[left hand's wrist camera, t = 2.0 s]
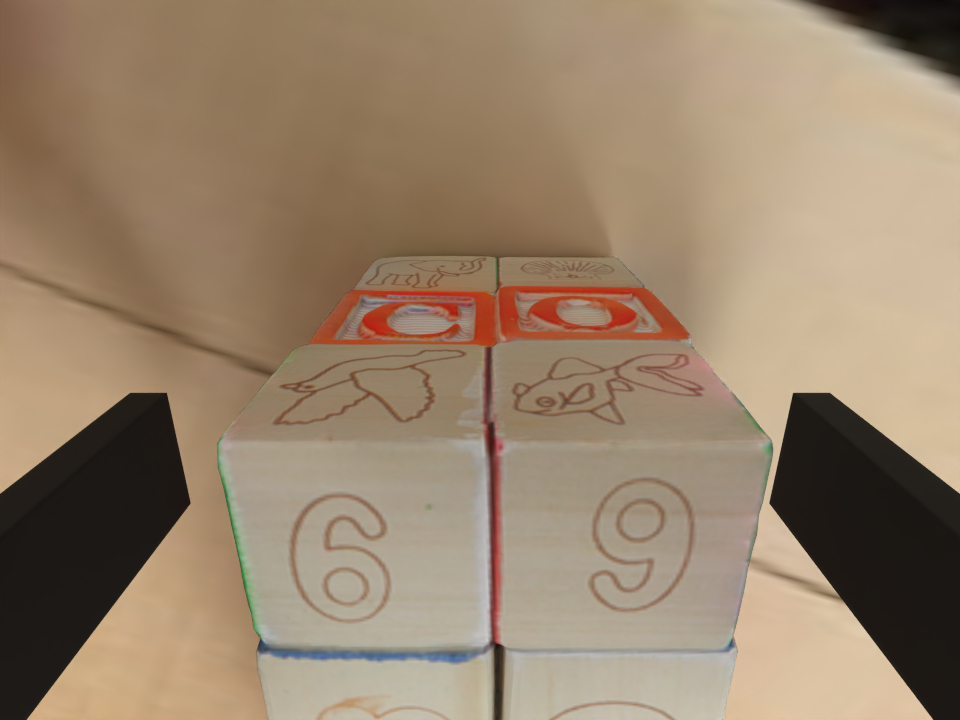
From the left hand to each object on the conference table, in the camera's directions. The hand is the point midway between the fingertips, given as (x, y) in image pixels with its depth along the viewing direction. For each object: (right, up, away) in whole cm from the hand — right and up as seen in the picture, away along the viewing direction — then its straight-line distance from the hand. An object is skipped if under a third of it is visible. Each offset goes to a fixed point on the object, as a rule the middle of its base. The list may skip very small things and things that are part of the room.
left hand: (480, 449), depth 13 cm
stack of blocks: (0, -5, +6) cm, 8 cm away
